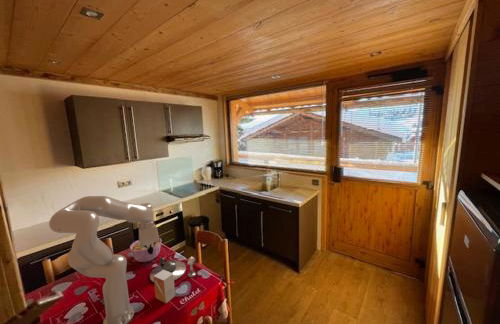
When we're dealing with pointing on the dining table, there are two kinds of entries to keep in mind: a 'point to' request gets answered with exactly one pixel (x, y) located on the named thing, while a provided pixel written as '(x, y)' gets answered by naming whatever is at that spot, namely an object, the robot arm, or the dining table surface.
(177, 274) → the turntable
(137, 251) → the bowl of food
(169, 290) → the small box
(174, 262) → the cover
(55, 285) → the dining table surface
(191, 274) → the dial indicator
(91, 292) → the dining table surface
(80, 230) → the robot arm
